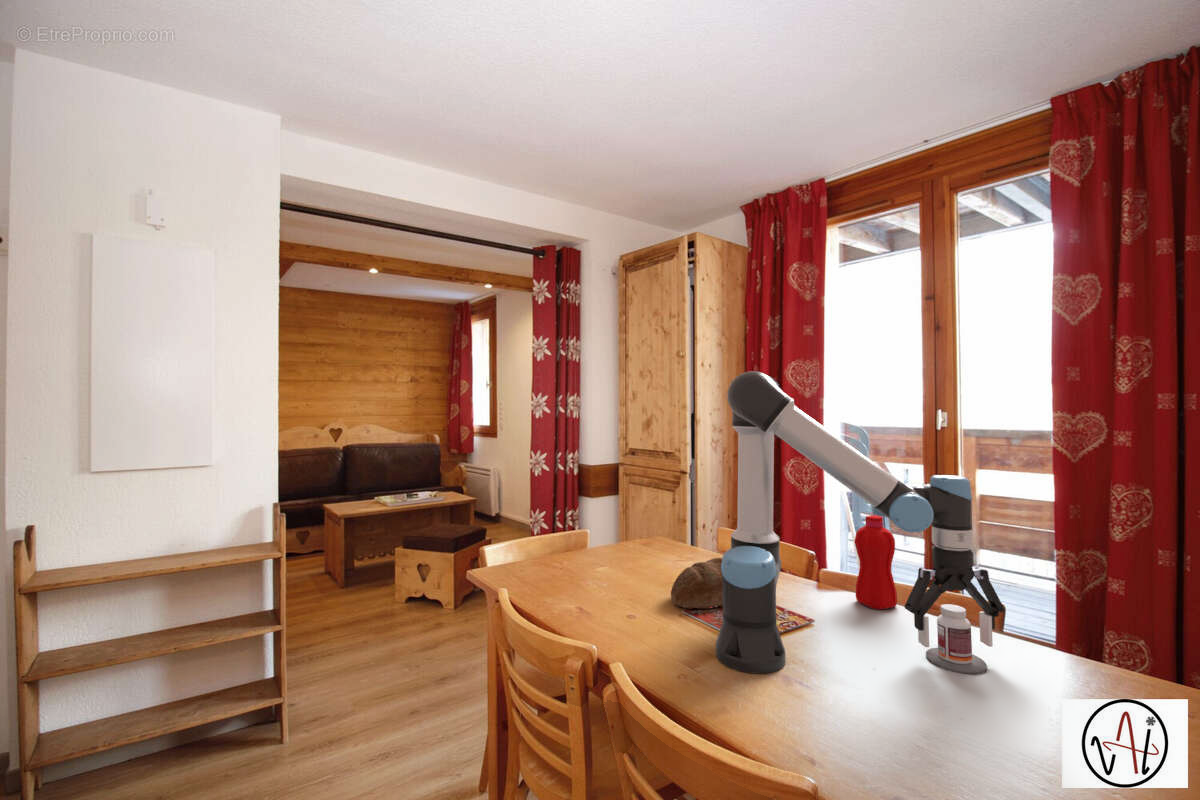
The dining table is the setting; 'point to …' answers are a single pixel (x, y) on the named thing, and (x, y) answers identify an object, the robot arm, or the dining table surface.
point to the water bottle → (875, 565)
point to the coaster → (971, 668)
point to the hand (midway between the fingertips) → (955, 644)
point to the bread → (699, 585)
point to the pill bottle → (954, 635)
